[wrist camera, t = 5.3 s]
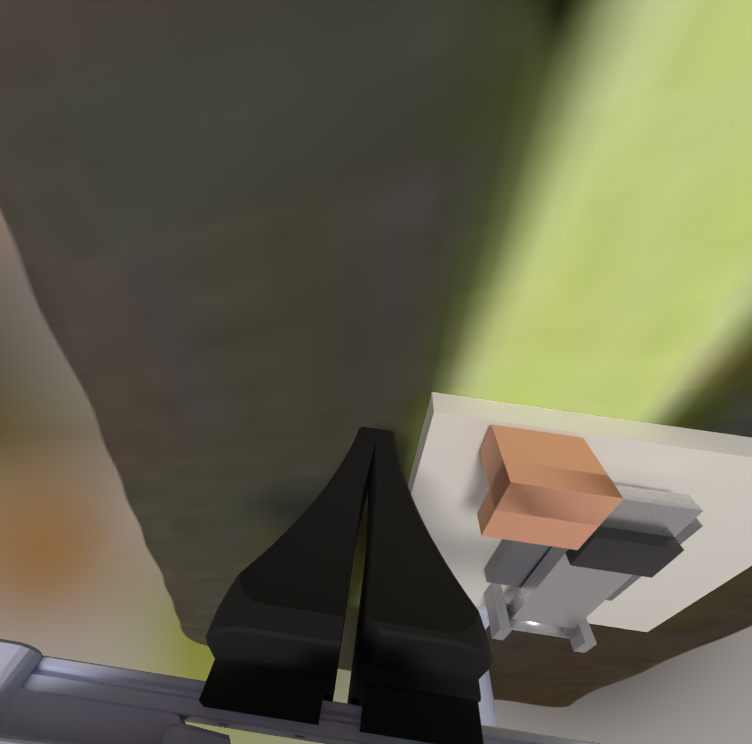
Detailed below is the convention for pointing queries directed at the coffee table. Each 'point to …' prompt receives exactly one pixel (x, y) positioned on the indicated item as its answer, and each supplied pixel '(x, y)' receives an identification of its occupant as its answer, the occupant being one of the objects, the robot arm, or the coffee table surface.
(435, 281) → the coffee table surface
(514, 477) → the block
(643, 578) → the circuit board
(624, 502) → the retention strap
